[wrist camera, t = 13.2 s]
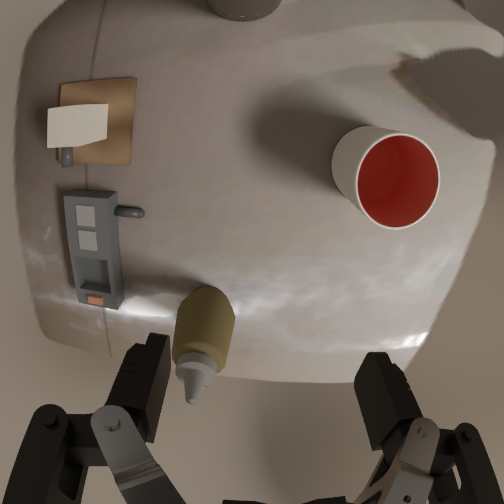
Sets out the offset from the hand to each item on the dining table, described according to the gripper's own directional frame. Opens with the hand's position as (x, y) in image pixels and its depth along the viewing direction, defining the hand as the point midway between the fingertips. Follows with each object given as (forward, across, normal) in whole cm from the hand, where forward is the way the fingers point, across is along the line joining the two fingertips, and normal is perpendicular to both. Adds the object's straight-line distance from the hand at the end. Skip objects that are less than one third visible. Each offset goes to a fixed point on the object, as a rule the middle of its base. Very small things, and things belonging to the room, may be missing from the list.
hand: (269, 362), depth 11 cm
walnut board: (+28, +22, -7) cm, 36 cm away
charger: (+27, +22, -6) cm, 35 cm away
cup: (+28, -13, -5) cm, 32 cm away
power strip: (+28, +19, +11) cm, 36 cm away
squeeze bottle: (+28, +4, +18) cm, 34 cm away
